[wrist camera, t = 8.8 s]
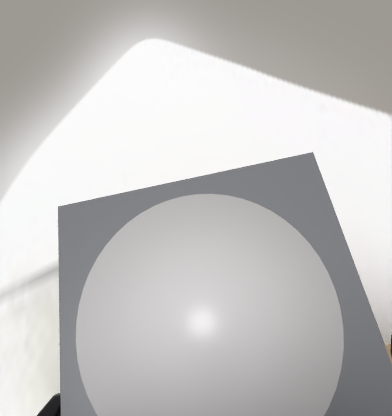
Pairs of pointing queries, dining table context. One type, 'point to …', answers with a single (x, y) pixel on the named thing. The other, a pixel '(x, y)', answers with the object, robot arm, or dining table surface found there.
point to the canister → (217, 301)
